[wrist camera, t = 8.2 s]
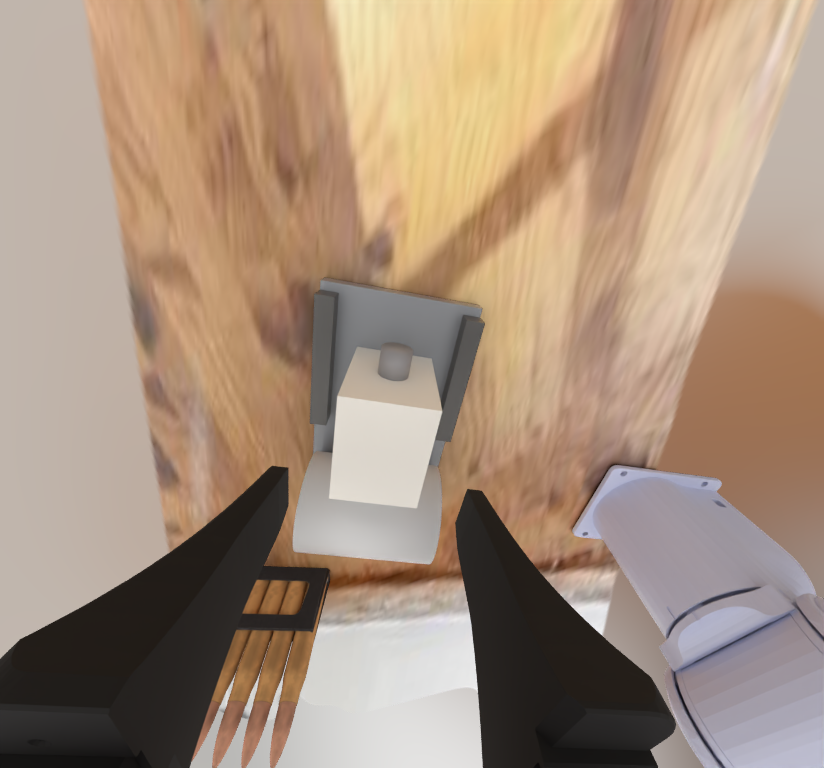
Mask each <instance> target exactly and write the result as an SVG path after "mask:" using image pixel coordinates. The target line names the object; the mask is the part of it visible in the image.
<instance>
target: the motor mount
mask: <svg viewBox="0 0 824 768" xmlns="http://www.w3.org/2000/svg"><path fill="white" fill-rule="evenodd" d="M481 312H482V308H481V307H480V306H479V305H476V304H470V303H465V302H459V301H454V300H448V299H442V298H437V297H431V296H426V295H420V294H415V293H409V292H403V291H398V290H392V289H387V288H381V287H376V286H370V285H364V284H359V283H353V282H348V281H342V280H337V279H331V278H323V279H322V280H321V283H320V290H319V291H318V292H316V293H315V294H314V320H313V349H312V378H311V407H310V424H314V447H313V456H312V458H311V460H310V462H309V465H308V468H307V471H306V474H305V477H304V480H303V484H302V487H301V491H300V496H299V500H298V505H297V510H296V515H295V522H294V530H293V550H294V552H299V553H310V554H321V555H332V556H343V557H354V558H365V559H376V560H387V561H398V562H409V563H419V564H431V562H432V561H433V559H434V556H435V553H436V549H437V545H438V540H439V534H440V526H441V514H442V485H441V477H440V472H439V469H438V465H439V462H440V458H441V455H442V451H443V447H444V444H445V441H446V442H451V438H452V435H453V431H454V428H455V424H456V421H457V418H458V414H459V411H460V407H461V404H462V400H463V397H464V394H465V390H466V387H467V383H468V380H469V376H470V373H471V369H472V366H473V363H474V359H475V356H476V352H477V349H478V345H479V342H480V339H481V335H482V332H483V328H484V325H485V323H484V322H483V321H482V319H481V318H480V316H481ZM388 342H394V343H401V344H404V345H407V346H409V347H411V348H412V349H413V356H419V357H425V358H431V359H432V363H433V368H434V373H435V378H436V382H437V387H438V392H439V397H440V402H441V407H442V415H441V419H440V422H439V426H438V430H437V434H436V437H435V441H434V445H433V449H432V452H431V456H430V460H429V464H428V468H427V471H426V475H425V479H424V483H423V486H422V490H421V494H420V498H419V502H418V505H417V508H408V507H399V506H390V505H381V504H373V503H364V502H355V501H346V500H337V499H329V492H330V479H331V467H332V455H333V443H334V431H335V419H336V406H337V396H338V393H339V391H340V388H341V386H342V383H343V381H344V378H345V376H346V373H347V371H348V368H349V366H350V363H351V361H352V358H353V356H354V353H355V351H356V348H357V347H363V348H369V349H376V350H381V345H382V344H384V343H388Z"/></svg>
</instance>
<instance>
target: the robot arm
mask: <svg viewBox="0 0 824 768" xmlns="http://www.w3.org/2000/svg"><path fill="white" fill-rule="evenodd" d="M721 483H722V482H721V481H719V480H718V479H716V478H712V477H704V476H697V475H689V474H681V473H674V472H665V471H659V470H651V469H644V468H636V467H628V466H621V465H614V466H612V467H611V468H610V469H609V470H608V472H607V474H606V475H605V477H604V479H603V480H602V482H601V484H600V485H599V487H598V488H597V490H596V492H595V493H594V495H593V497H592V498H591V500H590V502H589V503H588V505H587V507H586V508H585V510H584V511H583V513H582V515H581V516H580V518H579V520H578V521H577V523H576V525H575V526H574V528H573V530H572V532H573V534H574V535H575V536H577V537H585V538H594V539H603V541H604V542H605V544H606V545H607V547H608V549H609V550H610V552H611V553H612V555H613V556H614V558H615V560H616V561H617V563H618V564H619V566H620V567H621V569H622V570H623V572H624V574H625V575H626V577H627V578H628V580H629V582H630V583H631V585H632V586H633V588H634V589H635V591H636V592H637V594H638V596H639V597H640V599H641V600H642V602H643V603H644V605H645V607H646V608H647V610H648V611H649V613H650V614H651V616H652V617H653V619H654V621H655V622H656V624H657V625H658V627H659V629H660V630H661V632H662V633H663V635H664V636H665V638H666V641H665V642H664V643H663V644H661V645H660V646H659V648H660V650H661V652H662V653H663V655H664V656H665V658H666V660H667V661H668V663H669V666H668V667H667V668H666V669H665V674H664V677H665V685H666V690H667V694H668V698H669V702H670V705H671V708H672V711H673V714H674V716H675V718H676V720H677V723H678V725H679V727H680V729H681V730H682V732H683V734H684V736H685V738H686V740H687V741H688V743H689V745H690V746H691V748H692V749H693V751H694V753H695V754H696V756H697V757H698V759H699V760H700V762H701V763H702V765H703V766H704V768H824V598H821V597H818V596H816V592H815V590H814V587H813V585H812V583H811V581H810V579H809V577H808V575H807V574H806V572H805V571H804V570H803V568H802V567H801V565H800V564H799V563H798V562H797V561H796V560H795V559H794V558H793V557H792V556H791V555H790V554H789V553H788V552H787V551H786V550H784V549H783V548H782V547H781V546H780V545H778V544H777V543H776V542H775V541H774V540H772V539H771V538H770V537H769V536H768V535H767V534H765V533H764V532H763V531H761V529H760V528H758V527H757V526H756V525H755V524H754V523H752V522H751V521H750V520H749V519H747V518H746V517H745V516H744V515H743V514H742V513H741V512H739V511H738V510H737V509H736V508H735V507H734V506H732V505H731V504H730V503H729V502H728V501H726V500H725V499H724V498H723V497H722V496H721V495H719V494H718V493H717V492H716V491H717V490H718V489H719V488H720V487H721V485H722V484H721ZM287 508H288V468H286V467H277V466H271V467H270V468H269V469H268V470H267V471H266V472H265V473H264V474H263V475H262V476H261V477H260V478H259V479H258V480H257V481H256V482H255V483H254V484H252V485H251V486H250V487H249V488H248V489H247V490H246V491H245V492H244V493H243V494H242V495H241V496H240V497H238V498H237V499H236V500H235V501H234V502H233V503H232V504H231V505H230V506H228V507H227V508H226V509H225V510H224V511H223V512H222V513H220V514H219V515H218V516H217V517H215V518H214V519H213V520H212V521H211V522H209V523H208V524H207V525H206V526H205V527H203V528H202V529H201V530H200V531H198V532H197V533H196V534H194V535H193V536H192V537H190V538H189V539H188V540H186V541H185V542H184V543H182V544H181V545H180V546H178V547H177V548H175V549H174V550H173V551H171V552H170V553H168V554H167V555H165V556H164V557H162V558H161V559H159V560H158V561H156V562H155V563H154V564H152V565H151V566H149V567H148V568H146V569H144V570H143V571H142V572H140V573H138V574H137V575H135V576H133V577H132V578H131V579H129V580H127V581H125V582H124V583H122V584H120V585H119V586H117V587H115V588H114V589H112V590H110V591H108V592H107V593H105V594H104V595H102V596H100V597H98V598H97V599H95V600H93V601H92V602H90V603H88V604H86V605H85V606H83V607H81V608H79V609H77V610H75V611H74V612H72V613H70V614H68V615H66V616H64V617H62V618H60V619H59V620H57V621H55V622H53V623H51V624H49V625H48V626H45V627H43V628H41V629H40V630H38V631H36V632H34V633H32V634H30V635H28V636H26V637H24V638H22V639H20V640H19V641H18V642H17V643H16V644H15V645H14V646H13V647H12V648H11V649H10V650H9V651H8V652H7V653H6V654H5V655H4V656H3V657H2V658H1V659H0V768H189V767H190V764H191V761H192V758H193V755H194V752H195V749H196V746H197V743H198V739H199V736H200V733H201V730H202V727H203V724H204V721H205V718H206V715H207V712H208V709H209V706H210V703H211V700H212V697H213V694H214V691H215V689H216V686H217V683H218V680H219V677H220V674H221V671H222V668H223V665H224V663H225V660H226V657H227V654H228V651H229V649H230V646H231V643H232V640H233V637H234V635H235V632H236V629H237V627H238V624H239V621H240V619H241V616H242V613H243V611H244V608H245V605H246V603H247V601H248V598H249V596H250V594H251V591H252V589H253V587H254V585H255V583H256V581H257V579H258V576H259V574H260V572H261V570H262V568H263V566H264V564H265V562H266V559H267V557H268V555H269V553H270V551H271V549H272V547H273V544H274V542H275V540H276V538H277V536H278V534H279V531H280V529H281V526H282V523H283V520H284V517H285V514H286V511H287ZM455 524H456V538H457V549H458V555H459V560H460V565H461V570H462V576H463V581H464V586H465V591H466V596H467V601H468V606H469V612H470V618H471V624H472V634H473V643H474V652H475V663H476V673H477V684H478V697H479V710H480V724H481V740H482V759H483V768H658V765H657V763H656V761H655V759H654V757H653V755H652V753H651V751H650V749H652V748H653V747H655V746H656V745H658V744H659V743H661V742H662V741H663V740H665V739H667V738H668V737H669V736H670V735H671V734H673V732H674V730H675V727H676V723H675V719H674V718H673V716H672V714H671V712H670V710H669V708H668V707H667V705H666V703H665V701H664V699H663V698H662V696H661V694H660V692H659V690H658V689H657V687H656V685H655V683H654V682H653V680H652V678H651V677H650V676H649V675H648V674H646V673H645V672H644V671H643V670H642V669H640V668H639V667H638V666H637V665H635V664H634V663H633V662H632V661H631V660H629V659H628V658H627V657H626V656H625V655H623V654H622V653H621V652H620V651H619V650H617V649H616V648H615V647H614V646H613V645H612V644H610V643H609V642H608V641H607V640H606V639H605V638H604V637H603V636H602V635H601V634H599V633H598V632H597V631H596V630H595V629H594V628H593V627H592V626H591V625H590V624H589V623H588V622H587V621H585V620H584V619H583V618H582V617H581V616H580V615H579V614H578V613H577V612H576V611H575V610H574V609H573V608H572V607H571V606H570V605H569V604H568V603H567V602H566V601H565V600H564V599H563V597H562V596H561V595H560V594H559V593H558V592H557V591H556V590H555V589H554V588H553V587H552V586H551V584H550V583H549V582H548V581H547V580H546V579H545V578H544V576H543V575H542V574H541V573H540V572H539V571H538V569H537V568H536V567H535V566H534V565H533V563H532V562H531V561H530V560H529V558H528V557H527V556H526V554H525V553H524V552H523V551H522V549H521V548H520V547H519V545H518V544H517V542H516V541H515V540H514V538H513V537H512V535H511V534H510V533H509V531H508V530H507V528H506V527H505V525H504V524H503V522H502V521H501V519H500V518H499V516H498V515H497V513H496V512H495V510H494V509H493V507H492V506H491V504H490V503H489V501H488V500H487V498H486V496H485V495H484V493H483V492H482V491H479V490H470V489H467V492H466V494H465V497H464V500H463V503H462V506H461V509H460V512H459V514H458V517H457V520H456V523H455Z"/></svg>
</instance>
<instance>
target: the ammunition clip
mask: <svg viewBox="0 0 824 768" xmlns="http://www.w3.org/2000/svg"><path fill="white" fill-rule="evenodd" d="M329 582H330V574H329V570H328V569H327V568H302V567H272V566H263V568H262V570H261V572H260V574H259V576H258V579H257V581H256V583H255V585H254V587H253V589H252V591H251V594H250V596H249V598H248V601H247V603H246V605H245V608H244V611H243V613H242V616H241V619H240V621H239V624H238V627H237V629H236V632H235V635H234V637H233V640H232V643H231V646H230V649H229V651H228V654H227V657H226V660H225V663H224V665H223V668H222V671H221V674H220V677H219V680H218V683H217V686H216V689H215V691H214V694H213V697H212V700H211V703H210V706H209V709H208V712H207V715H206V718H205V721H204V724H203V727H202V730H201V733H200V736H199V739H198V743H197V746H196V749H195V752H194V755H193V758H192V760H193V759H194V757H195V756H196V754H197V752H198V751H199V749H200V747H201V745H202V744H203V742H204V740H205V738H206V736H207V734H208V732H209V730H210V728H211V725H212V723H213V721H214V719H215V716H216V713H217V711H218V709H219V706H220V705H221V702H222V700H223V698H224V695H225V693H226V691H227V689H228V687H229V685H230V683H231V682H232V680H233V678H234V675H235V673H236V675H235V679H234V683H233V688H232V691H231V694H230V697H229V700H228V704H227V707H226V710H225V712H224V715H223V718H222V721H221V725H220V728H219V731H218V735H217V739H216V744H215V749H214V754H213V763H212V768H217V766H218V765H219V763H220V762H221V760H222V759H223V757H224V755H225V753H226V751H227V749H228V747H229V746H230V744H231V741H232V739H233V737H234V735H235V732H236V730H237V728H238V725H239V723H240V720H241V717H242V714H243V711H244V709H245V706H246V704H247V701H248V699H249V696H250V693H251V691H252V689H253V687H254V685H255V683H256V680H257V678H258V676H259V673H260V670H261V673H260V677H259V683H258V688H257V692H256V695H255V699H254V702H253V707H252V711H251V714H250V717H249V721H248V725H247V729H246V734H245V738H244V744H243V751H242V763H241V764H242V768H246V766H247V765H248V763H249V761H250V760H251V758H252V756H253V754H254V752H255V749H256V747H257V745H258V743H259V740H260V738H261V735H262V732H263V730H264V727H265V724H266V721H267V718H268V714H269V711H270V707H271V706H272V702H273V699H274V696H275V693H276V690H277V688H278V686H279V683H280V681H281V678H282V675H283V672H284V668H285V665H286V661H287V657H288V654H289V650H290V647H291V650H290V654H289V658H288V661H287V665H286V669H285V673H284V678H283V687H282V692H281V697H280V701H279V707H278V711H277V715H276V719H275V724H274V729H273V735H272V742H271V751H270V767H271V768H274V767H275V766H276V763H277V762H278V760H279V758H280V756H281V754H282V751H283V749H284V746H285V744H286V741H287V738H288V735H289V732H290V728H291V725H292V721H293V717H294V713H295V709H296V706H297V703H298V699H299V695H300V691H301V689H302V686H303V683H304V681H305V678H306V674H307V669H308V665H309V660H310V656H311V652H312V647H313V643H314V639H315V636H316V632H317V628H318V624H319V620H320V617H321V613H322V609H323V605H324V601H325V598H326V594H327V590H328V586H329ZM305 593H306V594H305ZM304 596H305V598H304ZM303 600H304V601H303ZM302 604H303V605H302ZM292 642H293V643H292ZM269 643H270V644H269ZM291 643H292V646H291ZM246 644H247V645H246ZM268 646H269V647H268ZM267 649H268V650H267ZM243 652H244V653H243ZM266 652H267V654H266ZM265 655H266V657H265ZM241 657H242V658H241ZM264 658H265V660H264ZM240 660H241V661H240ZM263 661H264V663H263ZM262 664H263V666H262ZM238 665H239V666H238ZM261 667H262V669H261ZM237 668H238V669H237ZM236 670H237V672H236ZM191 762H192V761H191Z"/></svg>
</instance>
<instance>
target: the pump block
mask: <svg viewBox="0 0 824 768" xmlns="http://www.w3.org/2000/svg"><path fill="white" fill-rule="evenodd" d="M441 415H442V407H441V402H440V397H439V392H438V387H437V382H436V378H435V373H434V368H433V363H432V359H431V358H425V357H419V356H413V349H412V348H411V347H409V346H407V345H404V344H401V343H394V342H388V343H384V344H382V345H381V350H376V349H369V348H363V347H357V348H356V351H355V353H354V356H353V358H352V361H351V363H350V366H349V368H348V371H347V373H346V376H345V378H344V381H343V383H342V386H341V388H340V391H339V393H338V396H337V406H336V419H335V431H334V443H333V455H332V467H331V479H330V492H329V499H337V500H346V501H355V502H364V503H373V504H381V505H390V506H399V507H408V508H417V505H418V502H419V498H420V494H421V490H422V486H423V483H424V479H425V475H426V471H427V468H428V464H429V460H430V456H431V452H432V449H433V445H434V441H435V437H436V434H437V430H438V426H439V422H440V419H441Z"/></svg>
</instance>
